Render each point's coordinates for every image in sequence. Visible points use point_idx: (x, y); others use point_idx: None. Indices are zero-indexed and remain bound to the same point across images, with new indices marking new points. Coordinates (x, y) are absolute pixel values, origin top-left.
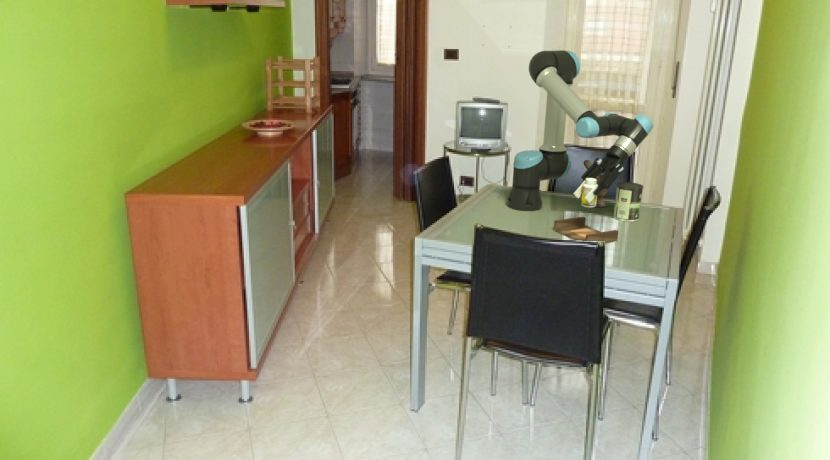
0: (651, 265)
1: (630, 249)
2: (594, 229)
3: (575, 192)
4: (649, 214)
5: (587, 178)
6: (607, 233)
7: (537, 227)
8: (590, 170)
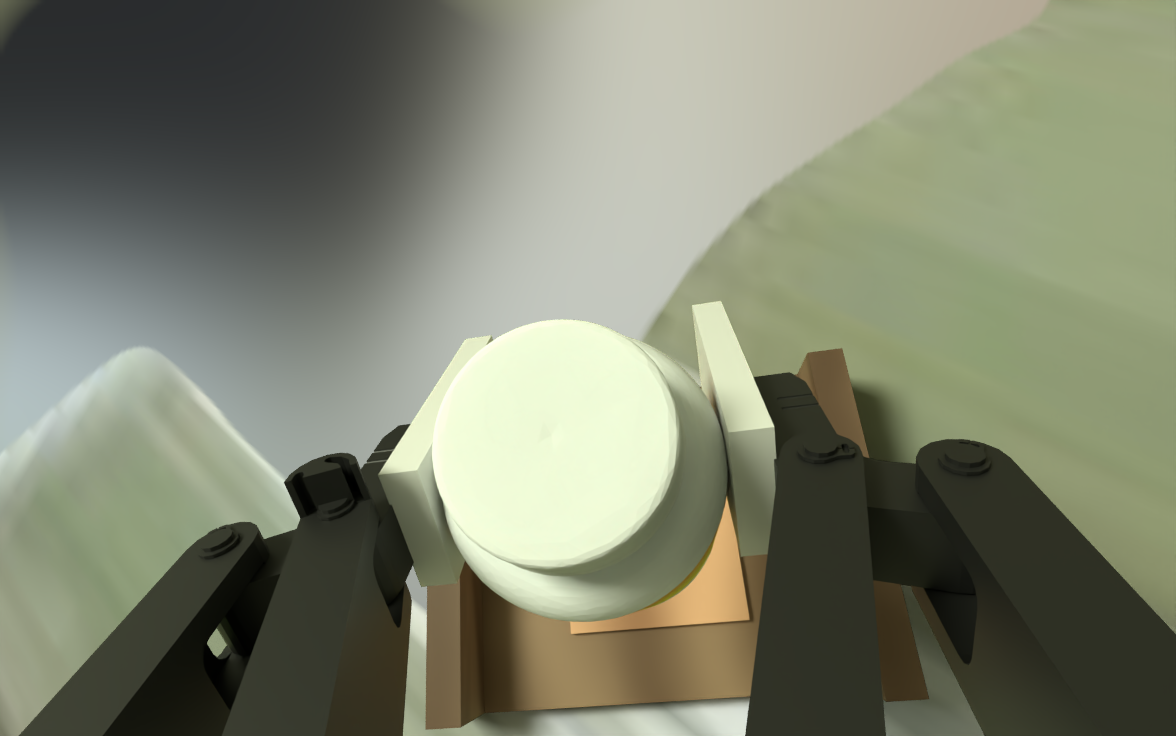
0: (59, 600)
1: None
2: (717, 686)
3: (706, 312)
4: None
5: (630, 382)
6: (430, 593)
7: (922, 301)
8: (1071, 723)
